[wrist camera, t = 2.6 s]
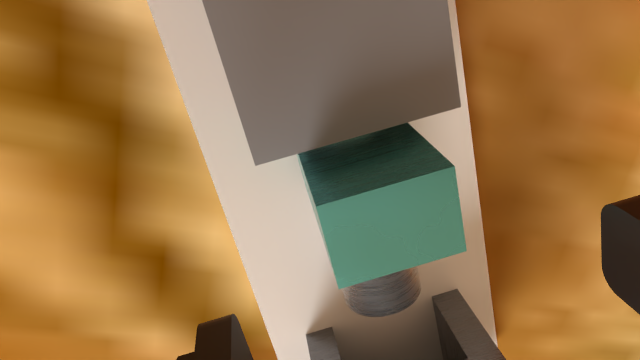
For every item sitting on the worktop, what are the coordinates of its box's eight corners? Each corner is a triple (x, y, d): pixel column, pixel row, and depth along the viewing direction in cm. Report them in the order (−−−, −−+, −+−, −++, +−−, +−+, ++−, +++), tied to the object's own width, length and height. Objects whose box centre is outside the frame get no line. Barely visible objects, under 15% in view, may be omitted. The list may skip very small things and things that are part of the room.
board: (123, -78, 16) (74, -95, 11) (423, -156, 17) (507, -207, 12) (298, 406, 25) (315, 517, 20) (489, 347, 26) (552, 441, 21)
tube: (227, -91, 15) (224, -123, 9) (339, -120, 16) (407, -171, 10) (332, 281, 21) (372, 410, 15) (412, 257, 21) (484, 375, 15)
